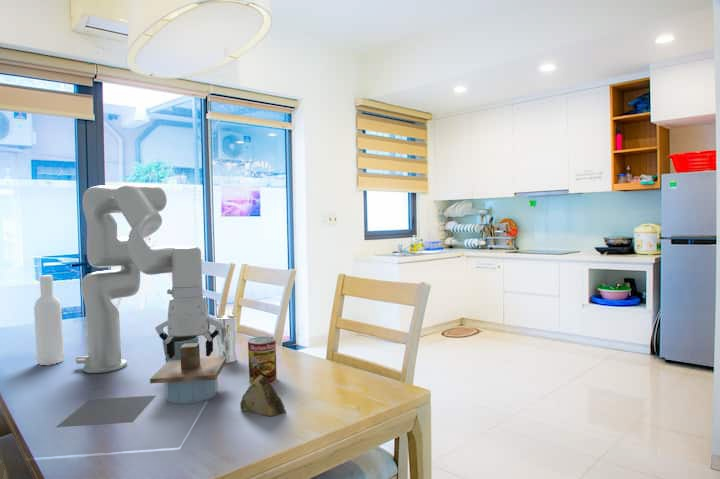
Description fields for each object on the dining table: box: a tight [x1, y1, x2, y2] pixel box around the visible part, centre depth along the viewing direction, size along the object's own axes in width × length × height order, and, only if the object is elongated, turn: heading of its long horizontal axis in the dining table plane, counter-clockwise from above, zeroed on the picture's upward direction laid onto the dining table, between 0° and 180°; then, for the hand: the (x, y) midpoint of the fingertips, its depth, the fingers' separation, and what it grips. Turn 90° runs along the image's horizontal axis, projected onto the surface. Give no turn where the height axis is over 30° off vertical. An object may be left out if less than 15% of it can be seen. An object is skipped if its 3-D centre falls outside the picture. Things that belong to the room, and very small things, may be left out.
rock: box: [240, 375, 287, 417], centre depth 117 cm, size 11×9×10 cm
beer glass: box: [214, 314, 238, 365], centre depth 160 cm, size 7×7×15 cm
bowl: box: [164, 377, 219, 404], centre depth 129 cm, size 13×13×6 cm
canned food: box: [247, 336, 278, 385], centre depth 140 cm, size 8×8×12 cm
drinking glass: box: [162, 336, 199, 364], centre depth 145 cm, size 10×10×12 cm
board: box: [55, 395, 156, 428], centre depth 119 cm, size 17×17×1 cm
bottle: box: [33, 274, 65, 366], centre depth 163 cm, size 8×8×30 cm
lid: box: [149, 342, 226, 384], centre depth 129 cm, size 16×16×7 cm
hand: (190, 355), depth 129 cm, fingers open, 9 cm apart
